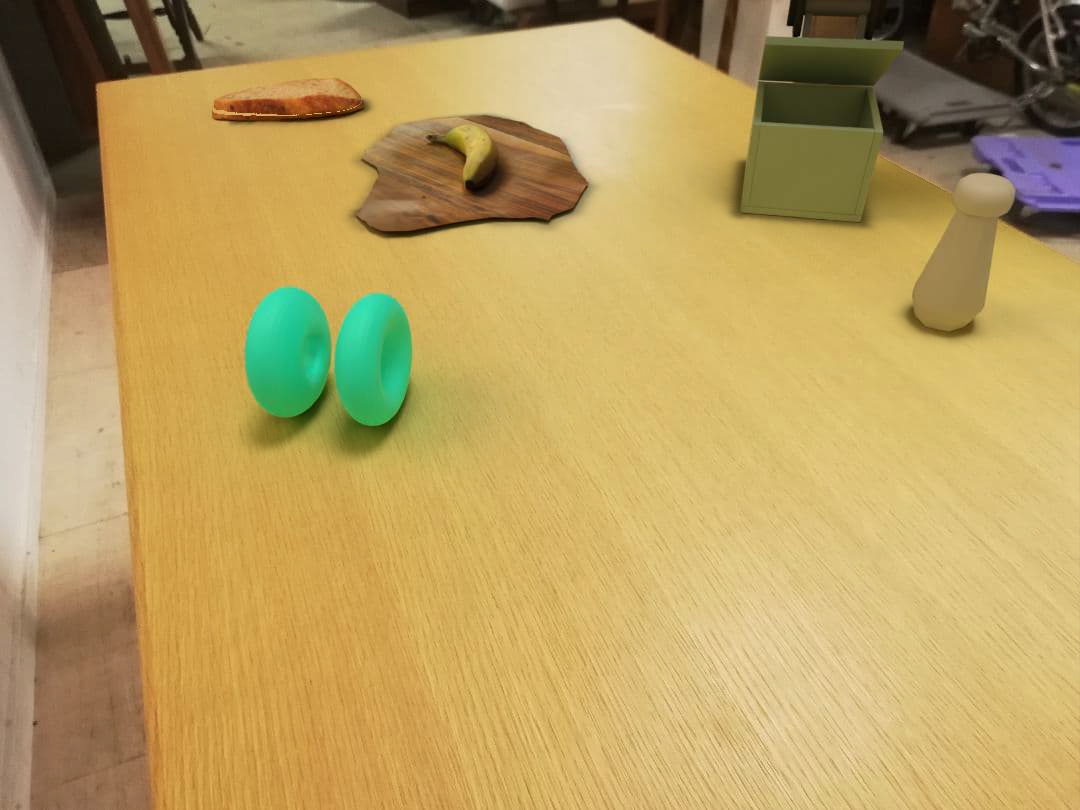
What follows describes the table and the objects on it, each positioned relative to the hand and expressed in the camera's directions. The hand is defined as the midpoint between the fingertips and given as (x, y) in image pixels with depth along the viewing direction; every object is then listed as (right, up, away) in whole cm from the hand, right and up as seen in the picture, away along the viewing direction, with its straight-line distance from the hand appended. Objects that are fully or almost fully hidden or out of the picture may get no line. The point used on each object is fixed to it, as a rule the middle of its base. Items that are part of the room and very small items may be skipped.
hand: (831, 33), depth 78 cm
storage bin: (+1, -12, +12) cm, 17 cm away
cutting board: (-38, -7, +20) cm, 44 cm away
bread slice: (-66, +6, +38) cm, 76 cm away
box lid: (+1, -2, +4) cm, 4 cm away
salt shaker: (+7, -29, -8) cm, 31 cm away
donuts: (-44, -37, -15) cm, 60 cm away
